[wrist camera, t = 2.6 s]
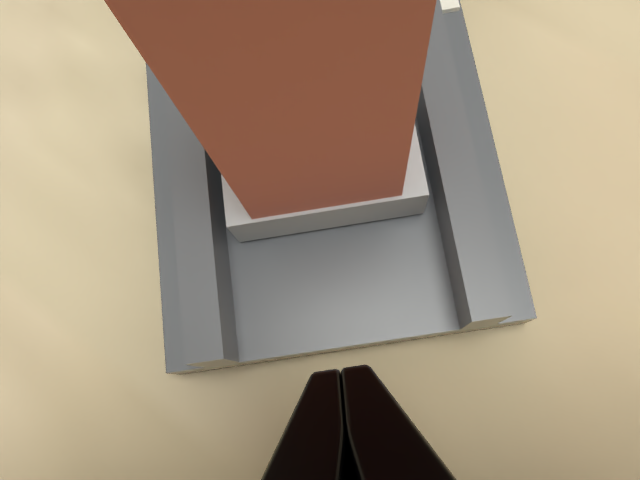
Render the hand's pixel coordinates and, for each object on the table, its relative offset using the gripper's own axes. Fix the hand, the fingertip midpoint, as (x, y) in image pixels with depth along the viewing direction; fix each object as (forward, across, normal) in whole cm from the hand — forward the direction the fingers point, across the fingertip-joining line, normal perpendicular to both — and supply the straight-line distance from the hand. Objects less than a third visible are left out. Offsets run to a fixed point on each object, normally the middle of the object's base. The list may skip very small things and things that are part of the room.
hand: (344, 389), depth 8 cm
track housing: (+12, 0, 0) cm, 12 cm away
